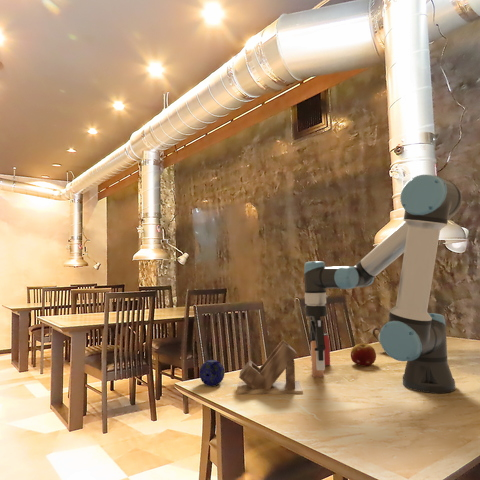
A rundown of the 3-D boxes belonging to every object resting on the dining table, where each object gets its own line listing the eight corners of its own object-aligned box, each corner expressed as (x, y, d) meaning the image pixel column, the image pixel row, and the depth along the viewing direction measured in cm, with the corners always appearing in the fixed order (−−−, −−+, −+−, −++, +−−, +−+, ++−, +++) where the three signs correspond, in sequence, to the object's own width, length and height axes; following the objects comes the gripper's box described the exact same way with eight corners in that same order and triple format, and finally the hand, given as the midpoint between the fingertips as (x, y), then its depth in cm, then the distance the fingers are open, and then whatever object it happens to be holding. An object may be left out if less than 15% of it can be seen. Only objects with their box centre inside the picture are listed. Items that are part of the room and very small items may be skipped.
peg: (326, 376, 141) (324, 341, 142) (316, 378, 140) (315, 342, 141) (319, 374, 145) (318, 340, 146) (310, 375, 143) (309, 341, 144)
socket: (237, 399, 123) (236, 345, 124) (238, 389, 134) (238, 339, 135) (303, 399, 122) (301, 344, 124) (299, 388, 133) (297, 338, 135)
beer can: (325, 367, 155) (324, 335, 156) (310, 365, 159) (309, 334, 160) (333, 364, 160) (331, 333, 161) (317, 362, 164) (316, 332, 165)
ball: (206, 380, 139) (206, 358, 140) (227, 381, 137) (226, 359, 138) (196, 386, 132) (196, 363, 132) (218, 388, 130) (218, 364, 130)
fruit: (355, 368, 153) (354, 346, 153) (348, 362, 162) (347, 342, 162) (380, 367, 153) (379, 346, 154) (371, 362, 162) (370, 342, 163)
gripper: (332, 307, 132) (335, 374, 130) (320, 301, 157) (322, 357, 155) (309, 308, 132) (311, 374, 130) (301, 302, 157) (303, 357, 155)
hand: (317, 365), depth 143 cm, fingers open, 13 cm apart
